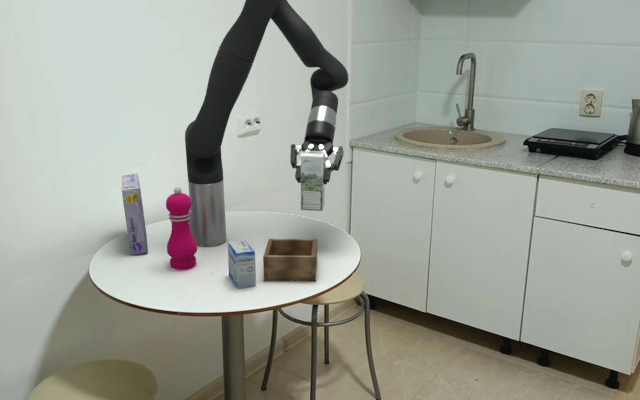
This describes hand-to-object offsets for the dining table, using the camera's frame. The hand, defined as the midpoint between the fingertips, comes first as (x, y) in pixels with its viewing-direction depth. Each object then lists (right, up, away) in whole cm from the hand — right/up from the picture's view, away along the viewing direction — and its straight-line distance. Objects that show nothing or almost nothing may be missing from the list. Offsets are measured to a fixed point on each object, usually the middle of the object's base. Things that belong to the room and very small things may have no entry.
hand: (311, 181), depth 148 cm
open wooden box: (-5, -22, -6) cm, 23 cm away
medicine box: (-16, -23, -11) cm, 31 cm away
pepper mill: (-32, -21, -2) cm, 38 cm away
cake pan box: (-48, -16, +13) cm, 52 cm away
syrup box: (0, -7, +4) cm, 8 cm away
